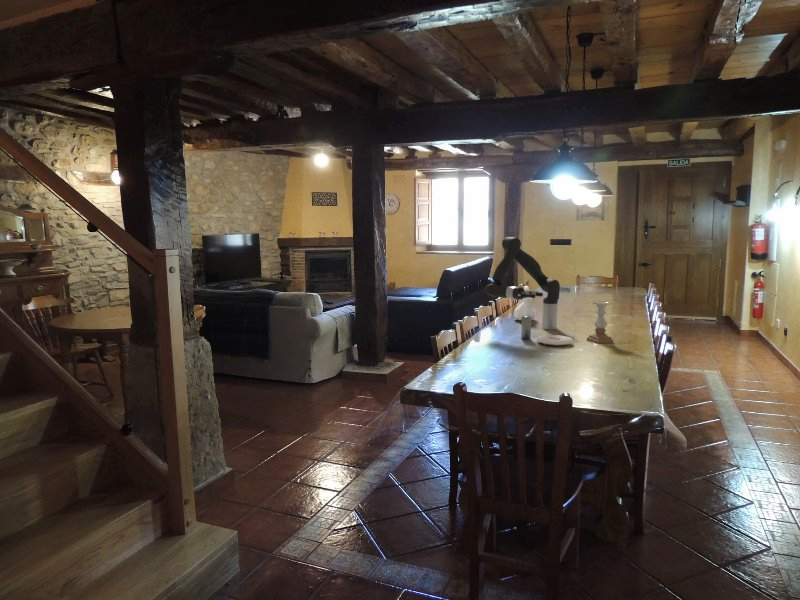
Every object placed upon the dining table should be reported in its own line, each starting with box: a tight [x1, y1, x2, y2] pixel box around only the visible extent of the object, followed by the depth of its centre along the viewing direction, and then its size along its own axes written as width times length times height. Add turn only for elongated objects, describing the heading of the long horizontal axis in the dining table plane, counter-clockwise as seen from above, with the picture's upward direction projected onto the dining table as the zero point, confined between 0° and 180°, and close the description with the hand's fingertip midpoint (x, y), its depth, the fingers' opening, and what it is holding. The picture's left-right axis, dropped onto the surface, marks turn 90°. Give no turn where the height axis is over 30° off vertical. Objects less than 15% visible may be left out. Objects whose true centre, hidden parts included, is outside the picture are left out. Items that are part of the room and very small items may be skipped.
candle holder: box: [586, 300, 614, 345], centre depth 333 cm, size 11×11×24 cm
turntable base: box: [543, 343, 568, 347], centre depth 330 cm, size 14×14×2 cm
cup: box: [520, 316, 532, 341], centre depth 341 cm, size 6×6×14 cm
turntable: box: [537, 334, 573, 346], centre depth 329 cm, size 20×20×2 cm
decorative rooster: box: [513, 285, 537, 321], centre depth 399 cm, size 25×16×25 cm, turn 164°
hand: (538, 295), depth 331 cm, fingers open, 8 cm apart
